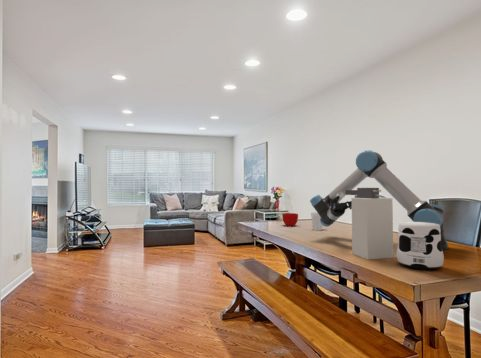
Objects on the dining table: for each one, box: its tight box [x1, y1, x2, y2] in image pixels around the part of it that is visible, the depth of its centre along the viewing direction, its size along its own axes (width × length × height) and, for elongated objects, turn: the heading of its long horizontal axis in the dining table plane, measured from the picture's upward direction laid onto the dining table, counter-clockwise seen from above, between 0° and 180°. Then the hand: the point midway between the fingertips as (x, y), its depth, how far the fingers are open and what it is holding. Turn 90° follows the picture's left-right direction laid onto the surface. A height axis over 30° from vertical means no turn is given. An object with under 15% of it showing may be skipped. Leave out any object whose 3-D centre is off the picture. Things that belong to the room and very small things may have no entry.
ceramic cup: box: [281, 212, 299, 227], centre depth 260 cm, size 13×17×10 cm
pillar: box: [351, 197, 394, 260], centre depth 152 cm, size 12×14×28 cm
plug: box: [345, 187, 382, 198], centre depth 158 cm, size 19×6×5 cm, turn 29°
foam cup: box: [310, 211, 323, 231], centre depth 236 cm, size 10×9×13 cm
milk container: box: [395, 221, 445, 270], centre depth 132 cm, size 17×17×18 cm
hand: (354, 194), depth 164 cm, fingers open, 13 cm apart
